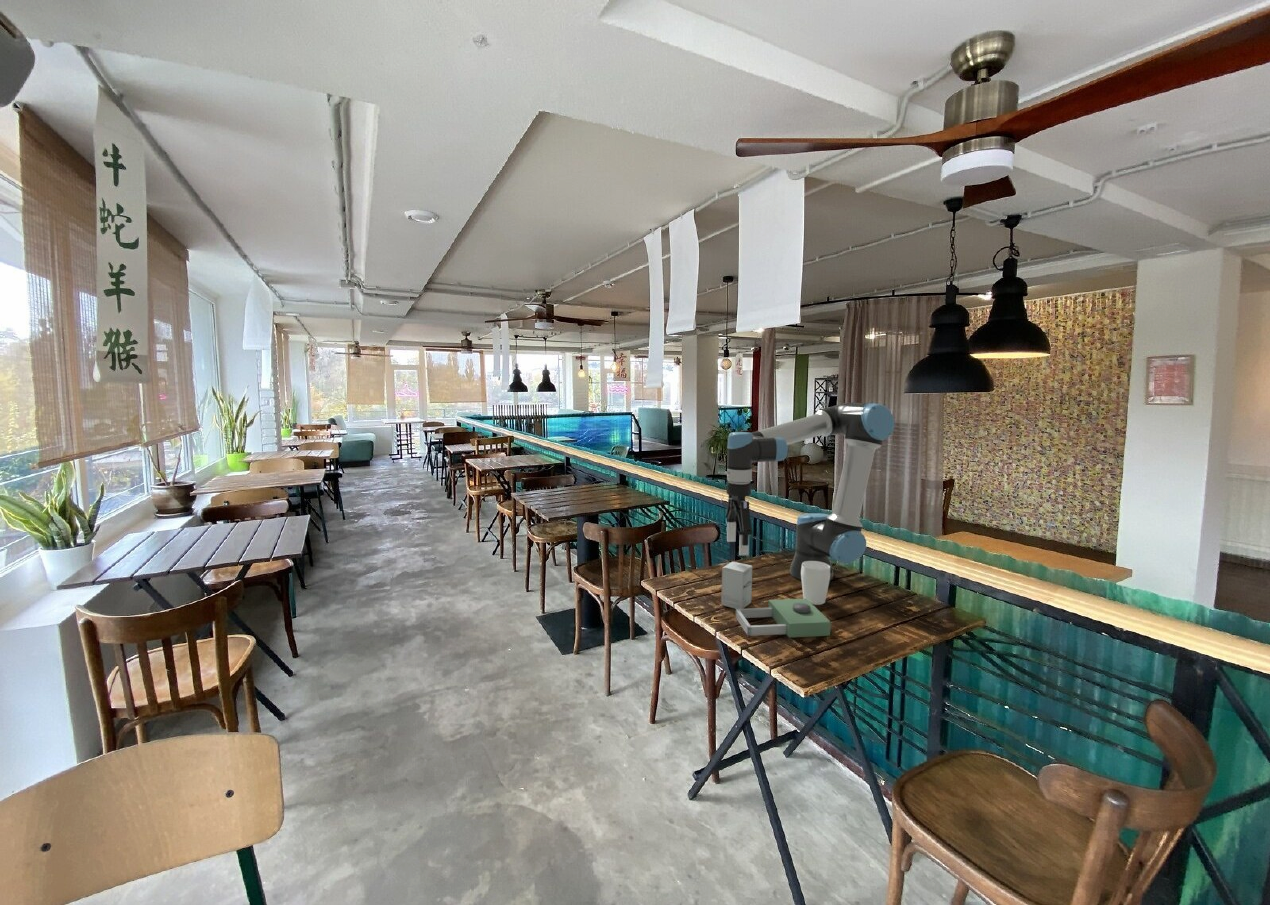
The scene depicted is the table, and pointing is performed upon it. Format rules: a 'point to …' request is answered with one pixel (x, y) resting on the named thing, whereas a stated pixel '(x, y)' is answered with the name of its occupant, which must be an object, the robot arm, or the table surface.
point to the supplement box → (736, 585)
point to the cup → (815, 581)
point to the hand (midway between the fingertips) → (737, 548)
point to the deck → (786, 619)
